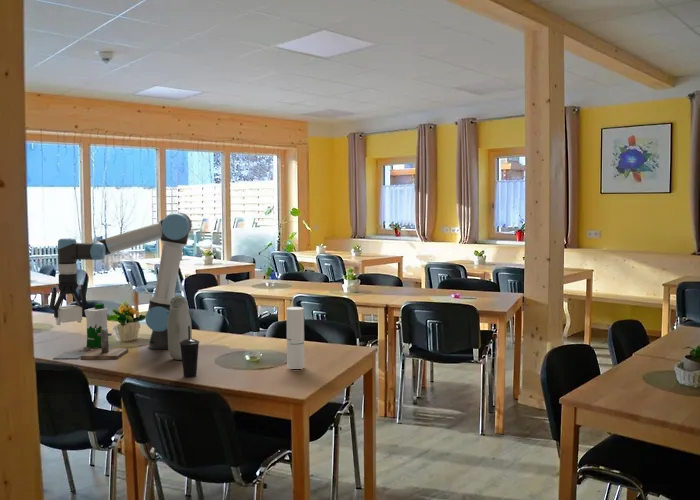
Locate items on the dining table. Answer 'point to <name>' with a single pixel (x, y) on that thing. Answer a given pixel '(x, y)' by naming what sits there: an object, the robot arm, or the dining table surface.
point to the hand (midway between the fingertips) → (69, 323)
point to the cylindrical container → (295, 337)
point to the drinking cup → (189, 356)
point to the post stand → (105, 349)
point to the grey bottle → (178, 325)
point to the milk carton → (95, 324)
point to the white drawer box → (70, 313)
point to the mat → (70, 355)
